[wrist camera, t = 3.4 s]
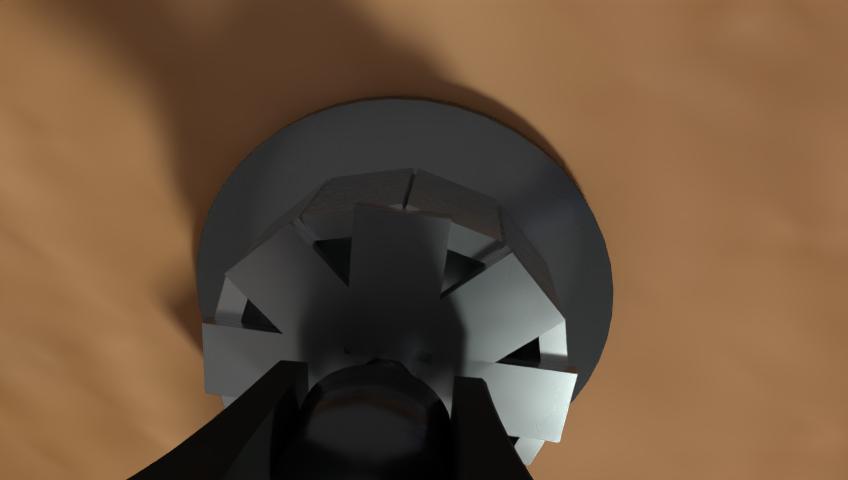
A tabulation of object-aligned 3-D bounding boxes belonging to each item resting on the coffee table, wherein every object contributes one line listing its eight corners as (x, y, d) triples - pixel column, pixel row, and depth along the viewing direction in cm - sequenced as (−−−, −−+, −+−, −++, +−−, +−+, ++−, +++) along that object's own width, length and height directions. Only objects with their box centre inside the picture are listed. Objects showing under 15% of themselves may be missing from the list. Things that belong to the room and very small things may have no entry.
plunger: (406, 246, 15) (369, 397, 9) (478, 329, 16) (485, 515, 10) (319, 308, 16) (236, 480, 10) (391, 384, 17) (352, 582, 11)
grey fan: (437, -8, 13) (426, -12, 10) (686, 338, 17) (748, 434, 13) (108, 276, 17) (10, 352, 13) (362, 514, 20) (340, 627, 17)
